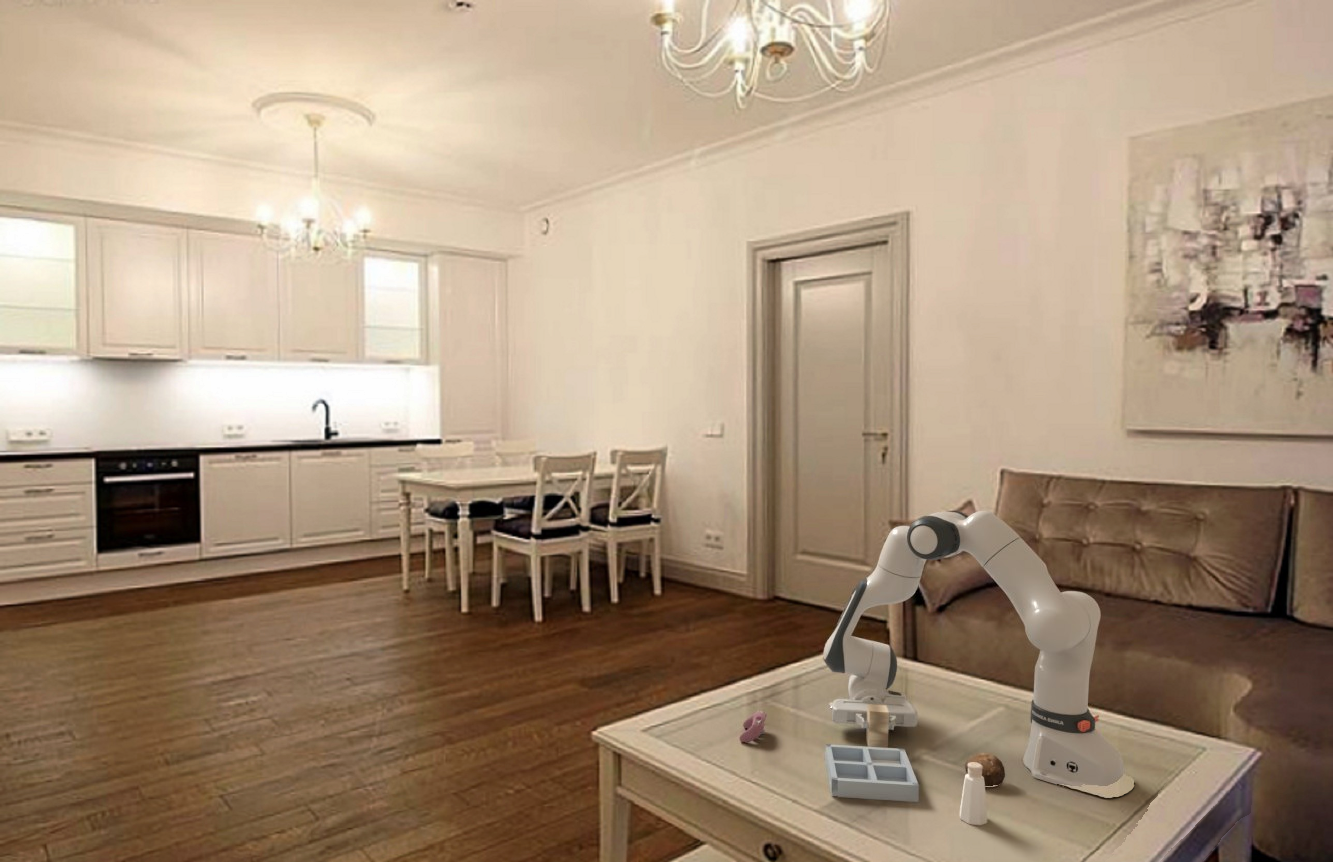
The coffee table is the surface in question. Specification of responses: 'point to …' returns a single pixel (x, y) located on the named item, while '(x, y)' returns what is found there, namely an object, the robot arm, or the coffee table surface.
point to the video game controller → (753, 727)
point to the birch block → (877, 726)
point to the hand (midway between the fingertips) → (878, 726)
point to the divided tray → (870, 773)
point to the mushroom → (989, 768)
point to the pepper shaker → (974, 796)
